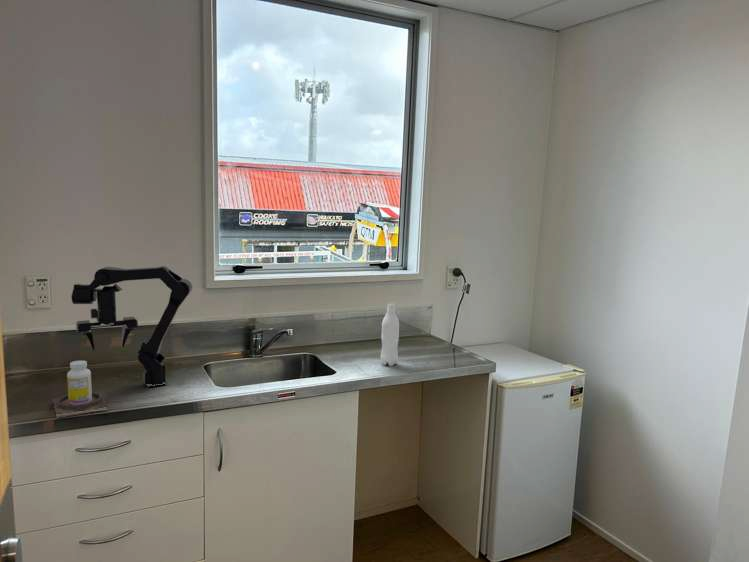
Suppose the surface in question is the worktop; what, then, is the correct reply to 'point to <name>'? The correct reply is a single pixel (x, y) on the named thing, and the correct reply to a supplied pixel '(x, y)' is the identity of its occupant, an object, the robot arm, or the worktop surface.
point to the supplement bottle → (79, 383)
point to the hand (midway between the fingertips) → (108, 348)
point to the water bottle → (390, 336)
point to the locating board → (65, 407)
